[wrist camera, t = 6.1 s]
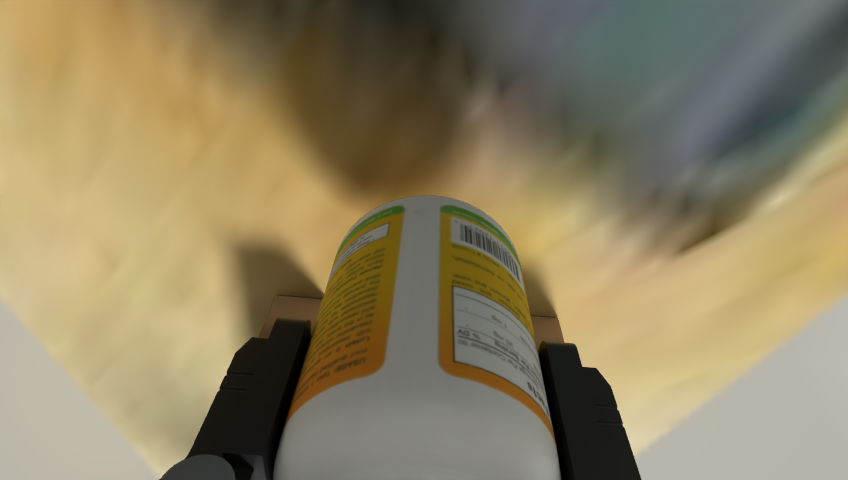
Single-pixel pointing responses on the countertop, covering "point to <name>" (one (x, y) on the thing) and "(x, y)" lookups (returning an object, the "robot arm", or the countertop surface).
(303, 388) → the supplement bottle
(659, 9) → the countertop surface
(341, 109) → the countertop surface
